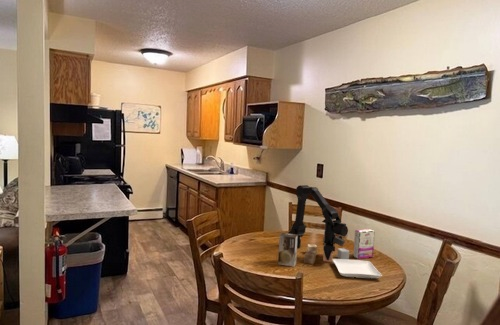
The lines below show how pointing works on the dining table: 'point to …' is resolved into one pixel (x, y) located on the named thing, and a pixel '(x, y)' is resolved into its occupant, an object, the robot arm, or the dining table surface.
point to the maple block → (312, 248)
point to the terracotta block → (329, 258)
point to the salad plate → (356, 268)
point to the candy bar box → (363, 243)
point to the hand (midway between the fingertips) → (327, 258)
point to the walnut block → (309, 257)
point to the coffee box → (287, 249)
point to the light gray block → (342, 253)
